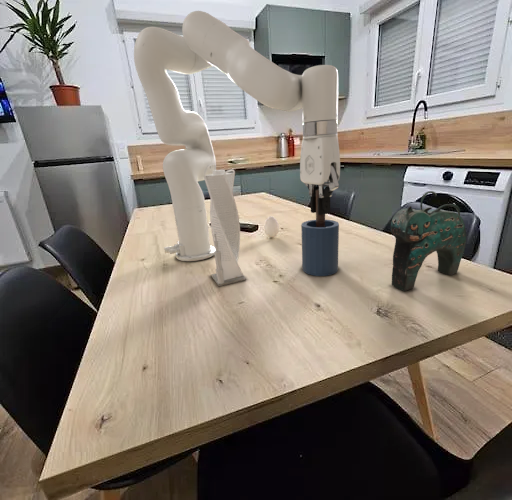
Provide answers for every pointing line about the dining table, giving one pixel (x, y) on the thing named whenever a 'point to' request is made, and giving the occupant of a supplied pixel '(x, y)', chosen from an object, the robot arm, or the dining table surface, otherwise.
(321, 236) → the blue pipe segment
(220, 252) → the skyscraper
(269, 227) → the egg
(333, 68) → the robot arm
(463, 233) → the ceramic cat
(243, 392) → the dining table surface
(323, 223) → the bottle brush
